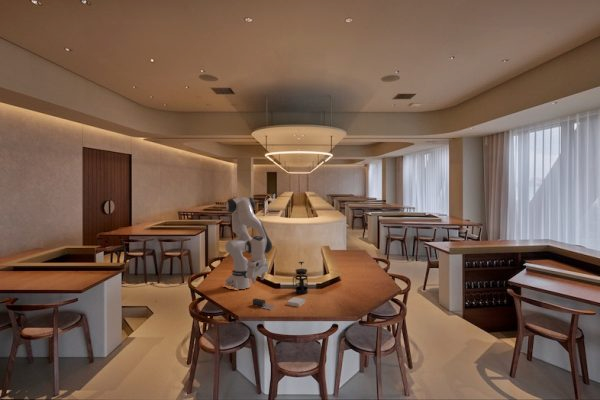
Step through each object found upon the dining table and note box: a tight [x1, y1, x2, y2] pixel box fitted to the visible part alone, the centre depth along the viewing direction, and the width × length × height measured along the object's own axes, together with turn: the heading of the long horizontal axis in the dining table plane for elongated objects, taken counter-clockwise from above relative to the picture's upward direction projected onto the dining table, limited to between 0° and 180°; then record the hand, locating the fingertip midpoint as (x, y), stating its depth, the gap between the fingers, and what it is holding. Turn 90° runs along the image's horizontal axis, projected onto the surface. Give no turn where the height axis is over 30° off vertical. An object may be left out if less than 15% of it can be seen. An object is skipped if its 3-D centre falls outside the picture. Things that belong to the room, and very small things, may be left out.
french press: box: [292, 261, 309, 295], centre depth 232 cm, size 12×9×23 cm
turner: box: [252, 298, 276, 311], centre depth 205 cm, size 15×6×4 cm, turn 64°
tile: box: [286, 296, 306, 308], centre depth 210 cm, size 3×9×9 cm
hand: (258, 281), depth 207 cm, fingers open, 8 cm apart
